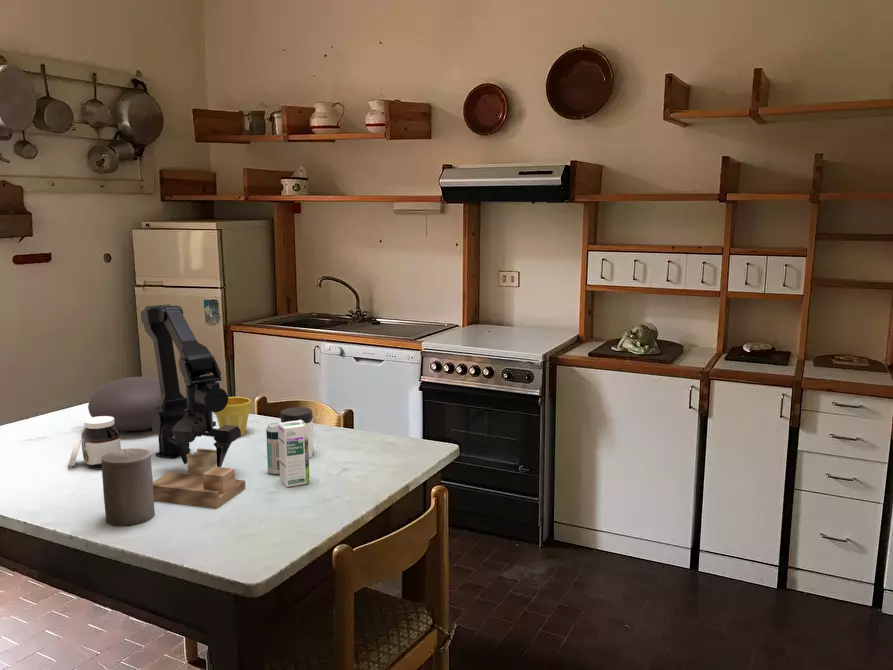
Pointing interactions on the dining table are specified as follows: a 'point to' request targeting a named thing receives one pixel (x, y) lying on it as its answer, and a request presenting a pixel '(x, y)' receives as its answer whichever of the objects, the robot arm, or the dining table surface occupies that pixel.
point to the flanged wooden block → (201, 461)
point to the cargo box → (219, 479)
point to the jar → (305, 416)
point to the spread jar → (96, 441)
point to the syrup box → (293, 453)
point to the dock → (191, 490)
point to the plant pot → (235, 413)
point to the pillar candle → (128, 486)
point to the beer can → (273, 449)
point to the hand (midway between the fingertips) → (202, 465)
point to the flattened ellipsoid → (127, 402)
